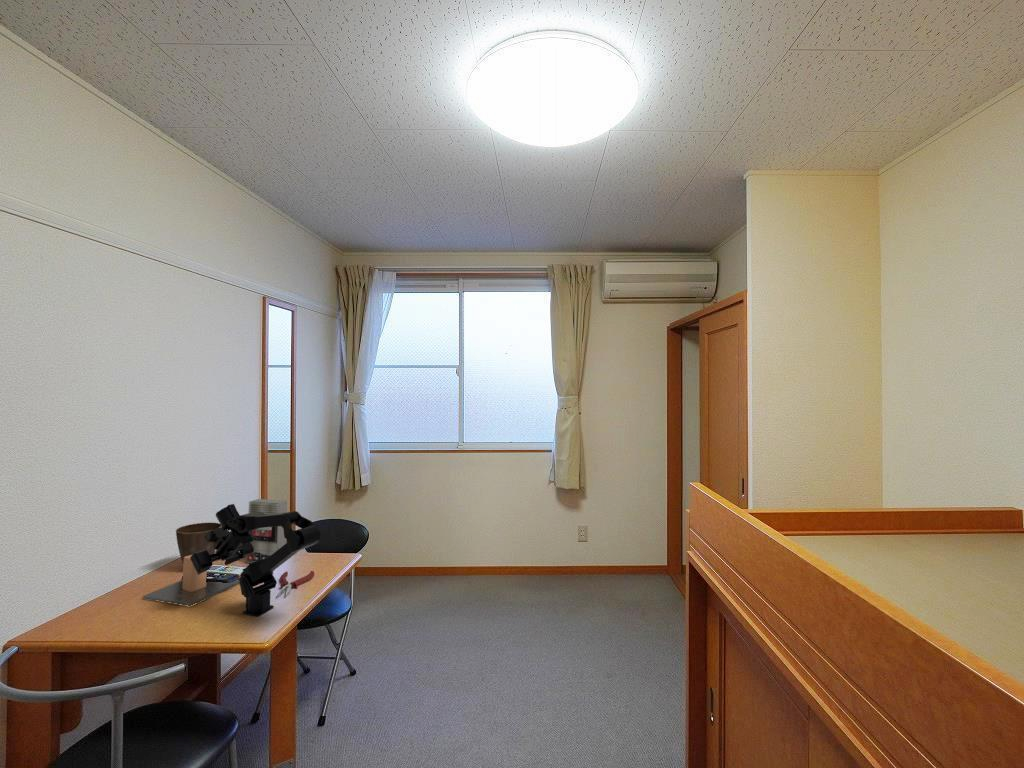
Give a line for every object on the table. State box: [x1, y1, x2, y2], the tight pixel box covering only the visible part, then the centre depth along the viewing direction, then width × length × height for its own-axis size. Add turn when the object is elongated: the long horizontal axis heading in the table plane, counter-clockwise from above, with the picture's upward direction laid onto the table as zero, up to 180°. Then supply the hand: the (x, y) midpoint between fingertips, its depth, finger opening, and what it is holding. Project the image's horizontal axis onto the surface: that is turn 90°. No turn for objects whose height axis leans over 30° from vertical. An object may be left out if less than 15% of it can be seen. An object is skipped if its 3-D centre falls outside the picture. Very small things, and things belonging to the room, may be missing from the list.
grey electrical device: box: [244, 498, 288, 565], centre depth 186 cm, size 14×6×25 cm, turn 82°
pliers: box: [276, 570, 315, 598], centre depth 163 cm, size 12×20×3 cm, turn 9°
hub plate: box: [142, 579, 240, 606], centre depth 158 cm, size 20×20×6 cm
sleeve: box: [182, 555, 208, 592], centre depth 158 cm, size 5×5×11 cm
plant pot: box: [175, 522, 222, 563], centre depth 178 cm, size 15×15×16 cm
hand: (212, 568), depth 154 cm, fingers open, 9 cm apart
